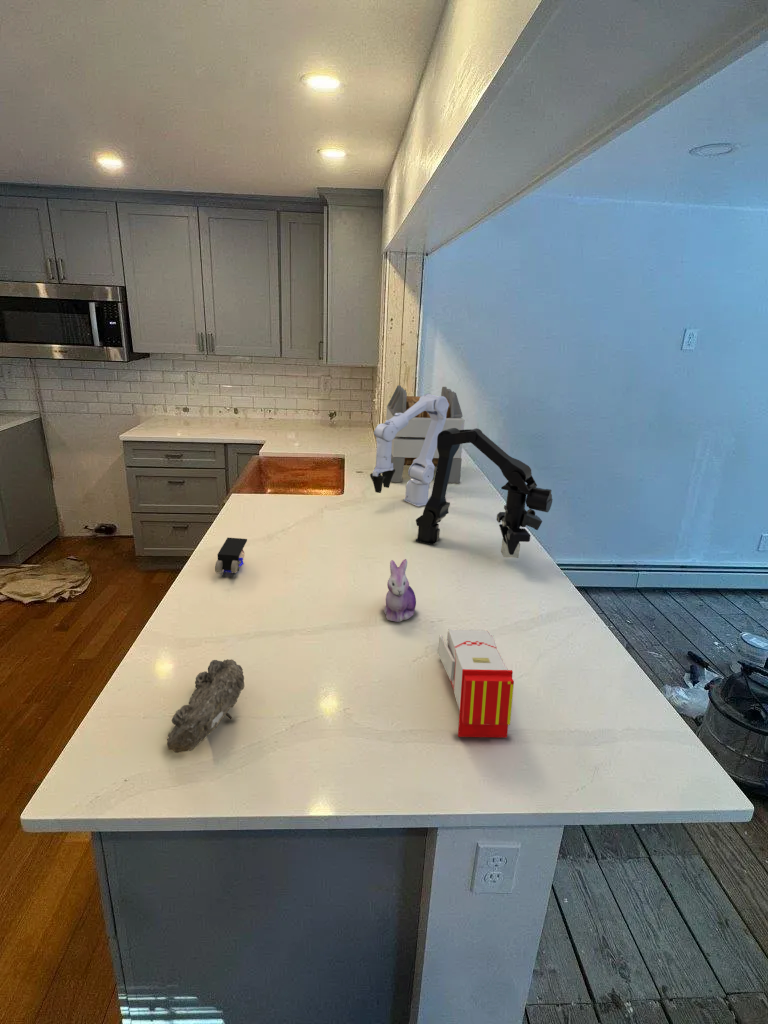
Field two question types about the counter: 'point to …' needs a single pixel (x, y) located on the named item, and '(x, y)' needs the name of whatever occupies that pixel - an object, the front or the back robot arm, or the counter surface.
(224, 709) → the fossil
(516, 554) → the block
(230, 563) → the black wheeled box
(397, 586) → the figurine
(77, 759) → the counter surface
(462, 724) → the toy
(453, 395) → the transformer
